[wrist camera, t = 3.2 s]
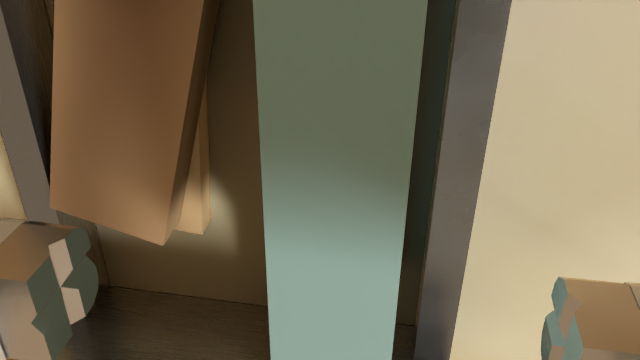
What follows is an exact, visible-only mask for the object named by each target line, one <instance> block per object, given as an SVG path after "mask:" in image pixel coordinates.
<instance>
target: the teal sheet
mask: <svg viewBox="0 0 640 360" xmlns="http://www.w3.org/2000/svg"><path fill="white" fill-rule="evenodd" d="M427 5H428V0H253V17H254V37H255V57H256V76H257V96H258V116H259V136H260V156H261V176H262V195H263V215H264V235H265V255H266V275H267V294H268V314H269V334H270V354H271V360H392V350H393V340H394V330H395V320H396V310H397V301H398V291H399V281H400V271H401V261H402V251H403V242H404V232H405V222H406V212H407V202H408V192H409V182H410V173H411V163H412V153H413V143H414V133H415V123H416V113H417V104H418V94H419V84H420V74H421V64H422V54H423V44H424V35H425V25H426V15H427Z"/></svg>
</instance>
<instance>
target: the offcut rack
mask: <svg viewBox="0 0 640 360" xmlns="http://www.w3.org/2000/svg"><path fill="white" fill-rule="evenodd" d="M511 2H512V0H456V4H455V12H454V20H453V28H452V36H451V44H450V52H449V59H448V67H447V75H446V83H445V91H444V99H443V107H442V115H441V123H440V131H439V139H438V147H437V155H436V163H435V171H434V179H433V187H432V195H431V203H430V211H429V219H428V226H427V234H426V242H425V250H424V258H423V266H422V274H421V282H420V290H419V298H418V306H417V314H416V322H415V326H409V325H401V324H395V330H394V340H393V350H392V360H449V358H450V352H451V346H452V340H453V335H454V329H455V323H456V317H457V312H458V306H459V300H460V294H461V289H462V283H463V277H464V272H465V266H466V260H467V254H468V249H469V243H470V237H471V231H472V226H473V220H474V214H475V208H476V203H477V197H478V191H479V185H480V180H481V174H482V168H483V162H484V157H485V151H486V145H487V139H488V134H489V128H490V122H491V116H492V111H493V105H494V99H495V93H496V88H497V82H498V76H499V70H500V65H501V59H502V53H503V47H504V42H505V36H506V30H507V24H508V19H509V13H510V7H511ZM253 18H254V17H253ZM256 77H257V76H256ZM52 83H53V39H52V34H51V30H50V26H49V21H48V17H47V13H46V8H45V4H44V0H0V131H1V135H2V138H3V141H4V145H5V148H6V151H7V154H8V158H9V161H10V164H11V168H12V171H13V174H14V177H15V181H16V184H17V187H18V191H19V194H20V197H21V201H22V204H23V207H24V210H25V214H26V217H27V220H28V221H37V222H45V223H53V224H61V225H68V226H76V227H81V228H82V229H84V230H86V231H87V234H88V237H89V241H90V244H91V247H90V249H89V250H88V252H87V253H86V256H87V257H88V258H89V259H90V260H91V261H92V262H93V263H94V264H95V265H96V268H97V273H98V291H97V295H96V298H95V301H94V305H93V306H92V308H91V309H90V311H89V312H88V314H87V315H86V317H84V318H82V319H80V320H78V321H77V322H75V323H73V324H71V327H72V333H73V335H72V337H71V338H70V340H69V341H68V342H67V344H66V345H65V347H64V348H63V349H62V351H61V352H60V354H59V355H58V357H57V358H56V359H55V360H271V354H270V334H269V314H268V307H264V306H257V305H249V304H242V303H234V302H226V301H219V300H211V299H204V298H196V297H188V296H181V295H173V294H166V293H158V292H150V291H143V290H135V289H127V288H120V287H112V286H110V285H109V281H108V276H107V272H106V268H105V263H104V259H103V255H102V250H101V246H100V242H99V237H98V233H97V229H96V224H95V223H93V222H90V221H87V220H84V219H81V218H78V217H76V216H73V215H70V214H67V213H64V212H61V211H58V210H55V209H52V208H50V167H51V125H52ZM257 97H258V96H257ZM258 117H259V116H258ZM259 137H260V136H259ZM260 157H261V156H260ZM262 196H263V195H262ZM263 216H264V215H263ZM264 236H265V235H264ZM265 256H266V255H265ZM266 276H267V275H266ZM267 296H268V294H267Z"/></svg>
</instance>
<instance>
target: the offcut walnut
mask: <svg viewBox="0 0 640 360" xmlns="http://www.w3.org/2000/svg"><path fill="white" fill-rule="evenodd" d="M219 2H220V0H54V41H53V83H52V125H51V167H50V208H52V209H55V210H58V211H61V212H64V213H67V214H70V215H73V216H76V217H78V218H81V219H84V220H87V221H90V222H93V223H96V224H99V225H102V226H105V227H108V228H111V229H114V230H117V231H120V232H123V233H126V234H129V235H132V236H135V237H138V238H141V239H144V240H147V241H150V242H152V243H155V244H158V245H161V246H164V244H165V243H166V241H167V240H168V238H169V237H170V235H171V234H172V232H173V231H174V229H175V228H176V226H177V224H178V223H179V221H180V219H181V213H182V207H183V202H184V196H185V191H186V185H187V180H188V174H189V169H190V163H191V158H192V152H193V147H194V141H195V135H196V130H197V124H198V119H199V113H200V108H201V102H202V97H203V91H204V86H205V80H206V74H207V69H208V63H209V58H210V52H211V47H212V41H213V36H214V30H215V25H216V19H217V14H218V8H219Z"/></svg>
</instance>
